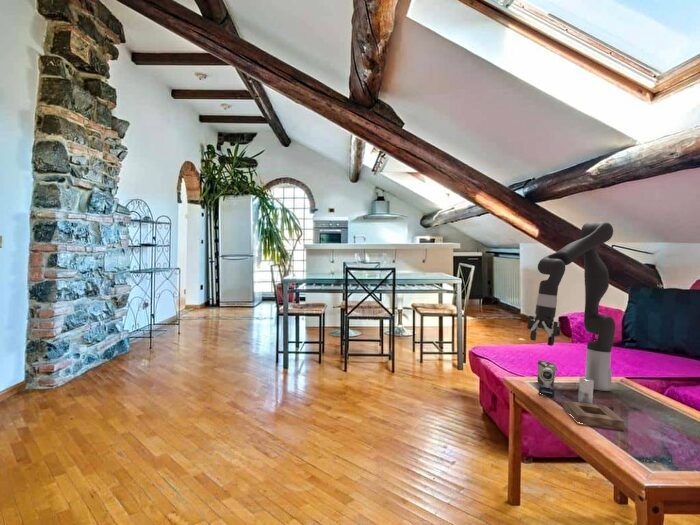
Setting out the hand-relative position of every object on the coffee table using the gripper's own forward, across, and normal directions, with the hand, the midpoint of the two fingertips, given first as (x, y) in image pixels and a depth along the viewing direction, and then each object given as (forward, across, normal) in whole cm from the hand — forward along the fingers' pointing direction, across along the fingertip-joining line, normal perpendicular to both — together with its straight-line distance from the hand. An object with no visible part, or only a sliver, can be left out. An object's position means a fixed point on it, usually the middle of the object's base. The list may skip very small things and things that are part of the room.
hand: (541, 342), depth 159 cm
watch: (+21, -4, -2) cm, 21 cm away
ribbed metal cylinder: (+20, -17, -8) cm, 27 cm away
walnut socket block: (+21, -27, +3) cm, 34 cm away
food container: (+21, +4, -13) cm, 25 cm away
